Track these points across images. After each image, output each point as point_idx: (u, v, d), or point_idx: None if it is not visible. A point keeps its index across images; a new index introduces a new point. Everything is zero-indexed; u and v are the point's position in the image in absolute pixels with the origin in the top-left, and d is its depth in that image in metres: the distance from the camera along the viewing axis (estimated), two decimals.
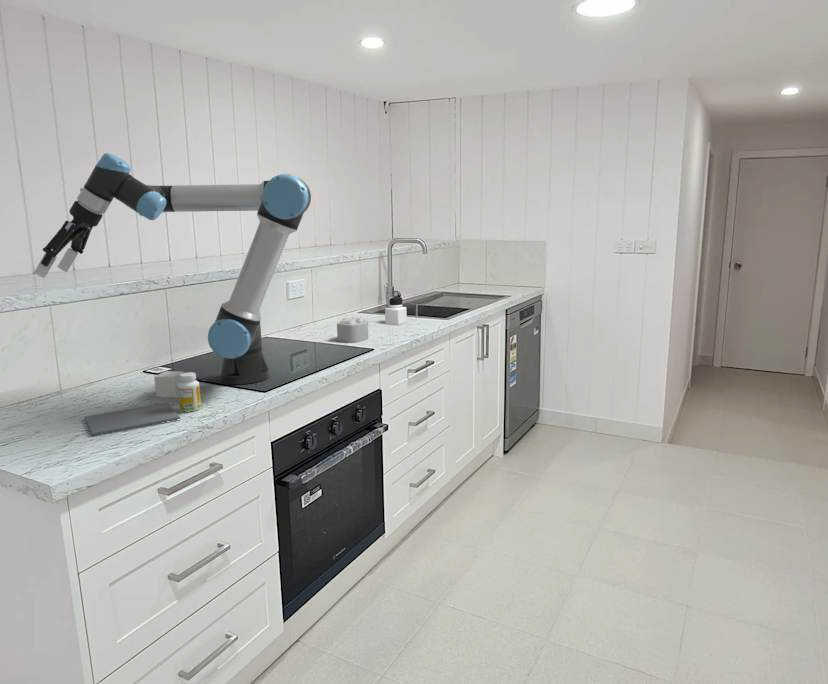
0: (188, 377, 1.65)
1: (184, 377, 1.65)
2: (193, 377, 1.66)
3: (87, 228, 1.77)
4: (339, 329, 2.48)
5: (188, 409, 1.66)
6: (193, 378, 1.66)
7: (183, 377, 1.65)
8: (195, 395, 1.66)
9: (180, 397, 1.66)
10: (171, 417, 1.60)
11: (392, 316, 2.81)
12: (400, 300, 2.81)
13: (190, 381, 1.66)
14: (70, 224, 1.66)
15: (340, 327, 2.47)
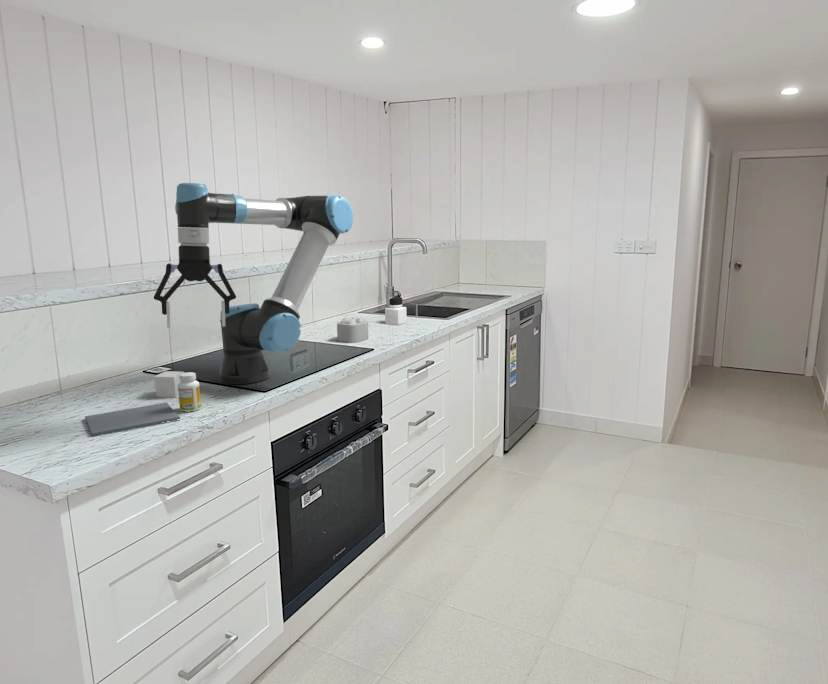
0: (188, 377, 1.65)
1: (184, 377, 1.65)
2: (193, 377, 1.66)
3: None
4: (339, 329, 2.48)
5: (188, 409, 1.66)
6: (193, 378, 1.66)
7: (183, 377, 1.65)
8: (195, 395, 1.66)
9: (180, 397, 1.66)
10: (171, 417, 1.60)
11: (392, 316, 2.81)
12: (400, 300, 2.81)
13: (190, 381, 1.66)
14: None
15: (340, 327, 2.47)
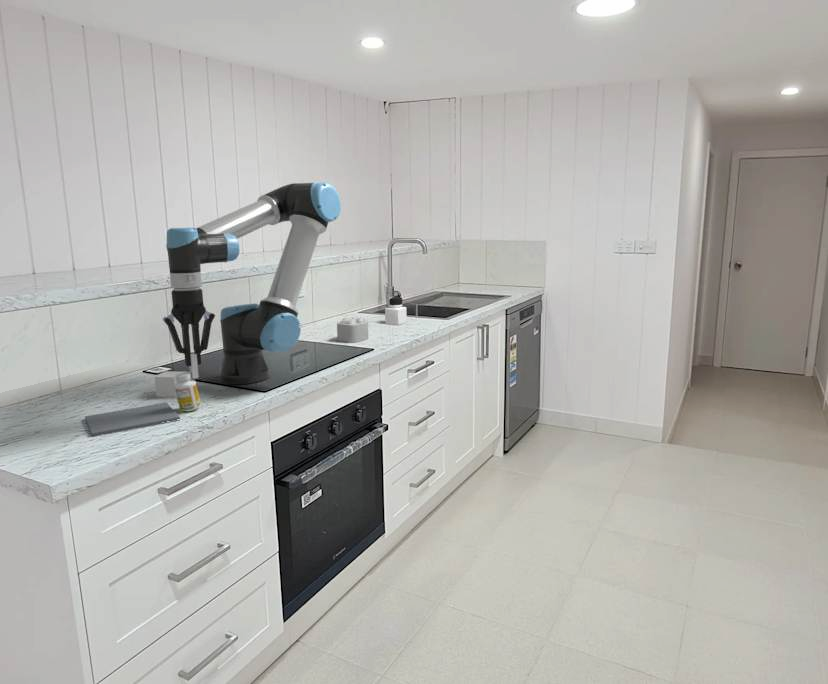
0: (183, 377, 1.64)
1: (179, 377, 1.64)
2: (189, 376, 1.65)
3: None
4: (339, 329, 2.48)
5: (188, 409, 1.66)
6: (189, 377, 1.65)
7: (178, 377, 1.64)
8: (192, 394, 1.66)
9: (178, 398, 1.65)
10: (171, 417, 1.60)
11: (392, 316, 2.81)
12: (400, 300, 2.81)
13: (186, 381, 1.65)
14: None
15: (340, 327, 2.47)
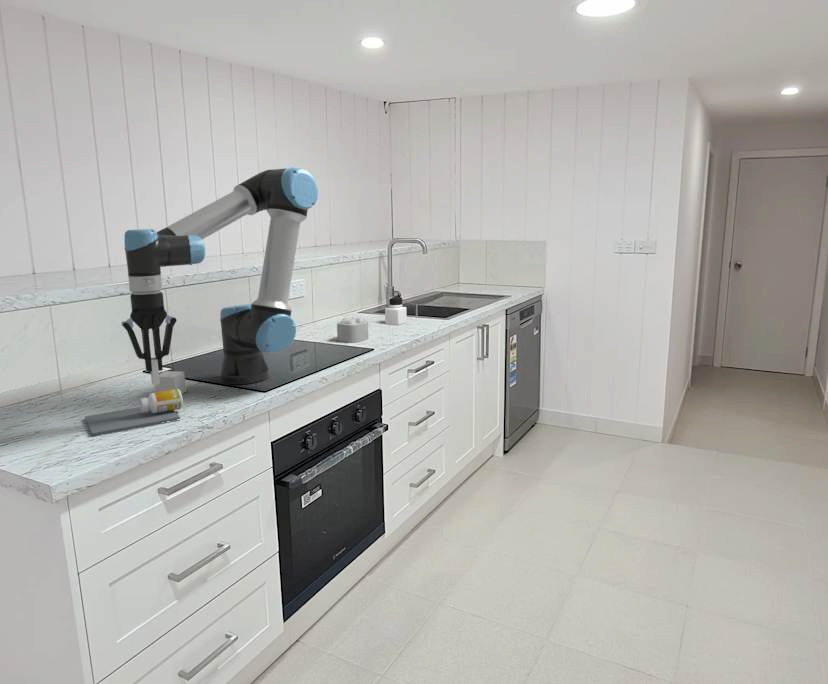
0: (144, 409, 1.60)
1: (144, 411, 1.60)
2: (145, 403, 1.60)
3: None
4: (339, 329, 2.48)
5: (180, 406, 1.64)
6: (146, 403, 1.60)
7: (144, 412, 1.61)
8: (165, 402, 1.62)
9: (166, 411, 1.64)
10: (171, 417, 1.60)
11: (392, 316, 2.81)
12: (400, 300, 2.81)
13: (149, 406, 1.61)
14: None
15: (340, 327, 2.47)
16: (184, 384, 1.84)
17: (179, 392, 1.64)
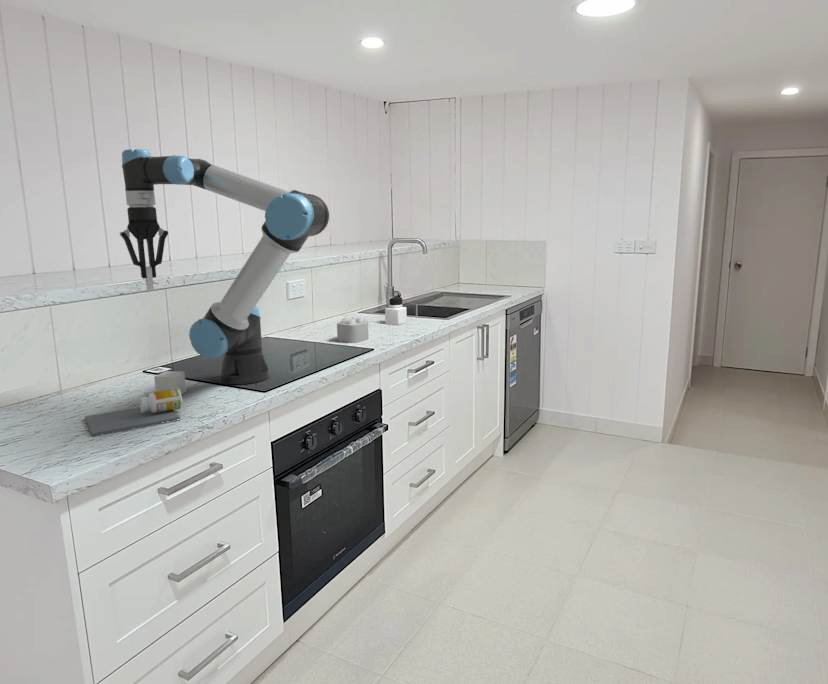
0: (144, 407, 1.60)
1: (144, 410, 1.61)
2: (144, 402, 1.60)
3: None
4: (339, 329, 2.48)
5: (179, 405, 1.65)
6: (146, 401, 1.60)
7: (144, 411, 1.61)
8: (164, 400, 1.62)
9: None
10: (171, 417, 1.60)
11: (392, 316, 2.81)
12: (400, 300, 2.81)
13: (149, 404, 1.61)
14: None
15: (340, 327, 2.47)
16: (184, 384, 1.84)
17: (178, 391, 1.65)
